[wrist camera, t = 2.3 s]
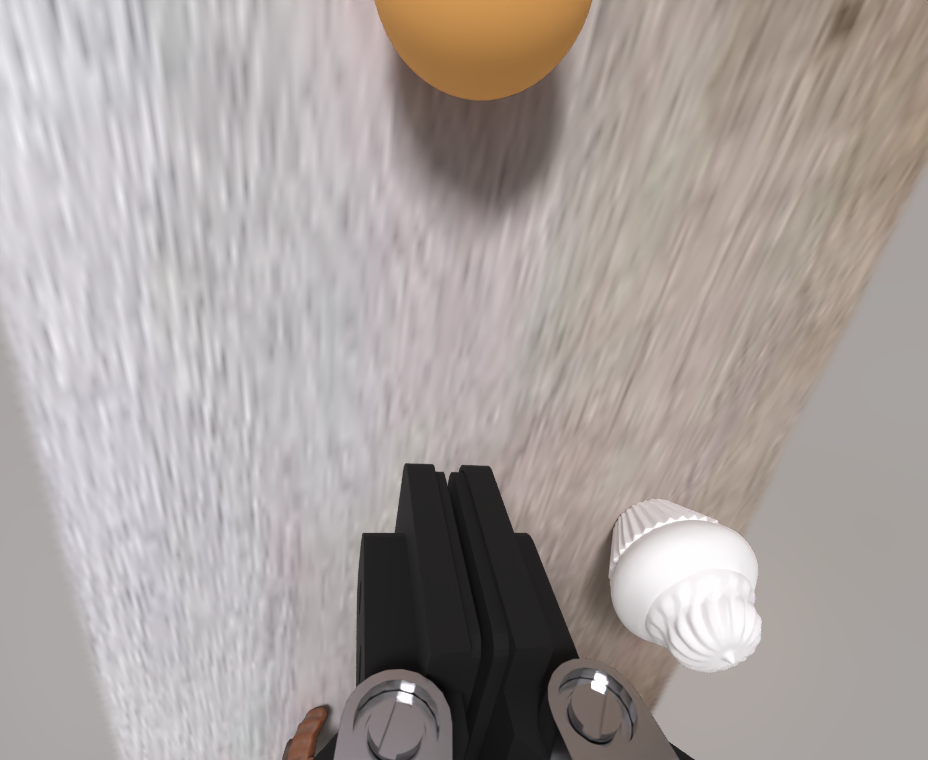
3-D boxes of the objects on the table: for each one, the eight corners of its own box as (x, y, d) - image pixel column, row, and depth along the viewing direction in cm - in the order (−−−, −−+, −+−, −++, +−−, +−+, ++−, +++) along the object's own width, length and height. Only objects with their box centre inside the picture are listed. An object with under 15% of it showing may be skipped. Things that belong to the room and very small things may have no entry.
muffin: (653, 582, 27) (734, 724, 21) (558, 552, 25) (618, 701, 19) (733, 495, 25) (850, 626, 19) (636, 454, 23) (733, 587, 17)
